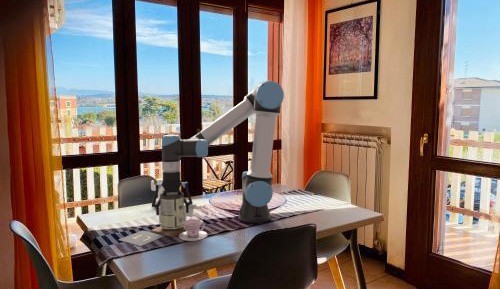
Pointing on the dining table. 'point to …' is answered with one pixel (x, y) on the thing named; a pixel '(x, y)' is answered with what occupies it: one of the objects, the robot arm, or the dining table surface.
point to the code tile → (141, 238)
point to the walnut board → (169, 231)
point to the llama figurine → (190, 214)
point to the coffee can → (172, 210)
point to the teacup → (193, 230)
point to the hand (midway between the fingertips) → (172, 221)
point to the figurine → (159, 189)
